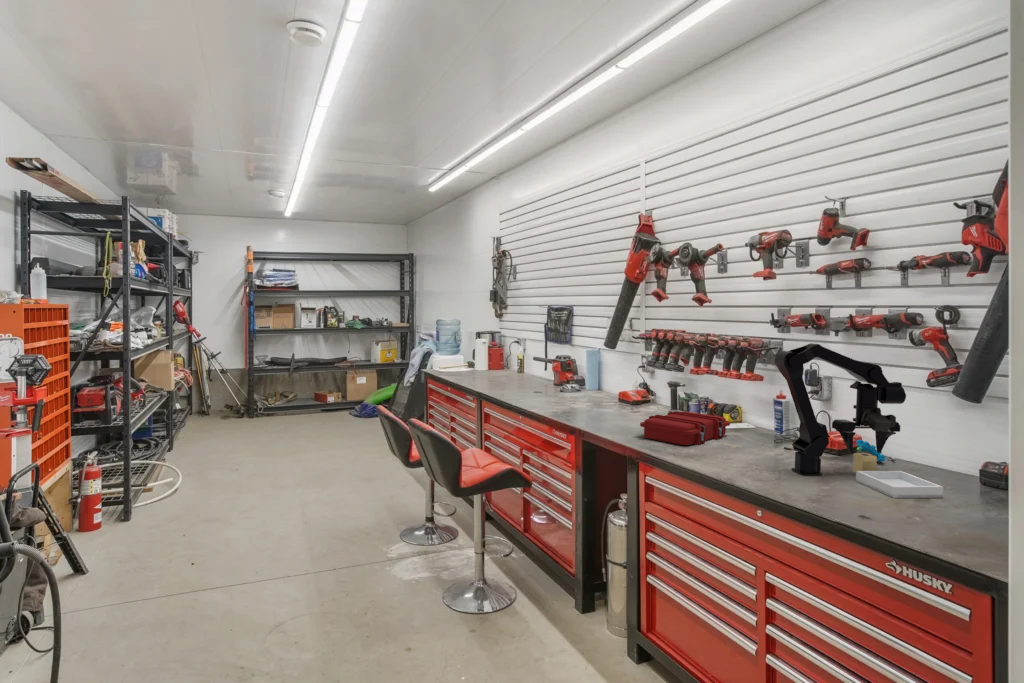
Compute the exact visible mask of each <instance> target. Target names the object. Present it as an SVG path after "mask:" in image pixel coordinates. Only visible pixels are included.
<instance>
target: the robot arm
mask: <svg viewBox="0 0 1024 683" xmlns="http://www.w3.org/2000/svg"><path fill="white" fill-rule="evenodd" d="M814 359H819V360H820V361H822V362H825V363H828V364H830V365H832V366H834V367H837V368H839V369H842V370H844V371H846V372H847V373H848V374H849V375H850V376H852V377H854V378H855V379H857V380H855V381H854V382H853V383H852V384H850V385H849V388H850V389H854V390H856V402H855V404H853V407H852V408H853V409H855V417H852V421H851V420H847V419H834V420H833V421H832V423H831V428H832V429H834V430H835V431H837V432H839V434H840V436H841V438H842V440H843V442H844V444H845V447H846V449H847V451H848V453H850V454H852V453H853V450H854V437H855V435H856V434H857V433H856V432H854V431H855V430H856V429H871V430H872V431H873V432H875V447H876V448H875V449H876V450H877V452H878V453H881V452H882V450H883V448H884V447H885V445H886V443H887V441H888V440H889V438H890V437H891V436H893V435H896V434H897V432H898V433H900V432H901V425H900V423H899V422H898V421H897V416H895V415H894V414H886V415H885V414H884V415H883V414H882V410H881V408H880V407H878V406H879V405H878V404H879V403H880V404H882V405H883V404H884V405H886V404H887V405H888V404H889V405H891V404H892V405H901V404H904V403H905V401H906V398H907V393H906V391H905V389H904V387H903V385H902V383H903V382H901V381H900V382H899V381H892V382H889V380H888V379H887V378H886V376H885V375H884V373H883V369H882V367H881V366H880V365H878V364H875V363H871V362H865V361H861V360H856V359H853V358H851V357H848V356H846V355H844V354H841V353H839V352H836V351H834V350H831V349H830V348H827V347H824V346H822V345H821V344H818V343H811V342H810V343H808V344H805V345H803V346H799V347H797V348H793V349H790V350H782V351H781V350H780V351H779V352H777V354H776V356H775V357H774V364H775V365H776V368H777V369H778V371H779V373H780V374H781V376H782V377H783V378H784V379H785V380H786V383H787V386H788V389H789V392H790V395H791V398H792V401H793V405H794V407H795V410H796V414H797V417H798V419H799V422H800V423H799V429H798V432H799V437H798V438H797V439H796V440H794V441H793V442H792V443H791V445H792V449H793V450H794V452H795V453H794V467H792V468H791V470H792V471H794V472H795V473H797V474H800V475H802V476H823V473H822V472H821V470H822V468H821V467H822V458H821V457H822V456H823V454H824V451H825V449H826V448H827V447H828V446H829V445H830V441H829V439H830V438H831V436H830V435H829V433H828V429H827V426H826V424H823V423H821V422H818V421H817V420H818V419H817V418H816V415H815V412H814V409H813V406H812V403H811V400H810V397H809V394H808V391H807V387H806V385H805V382H804V376H803V375H804V370H805V369H804V365H805V364H807V363H809V362H811V361H812V360H814ZM862 382H865V383H862ZM874 385H875V386H874ZM881 454H882V453H881Z"/></svg>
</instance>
